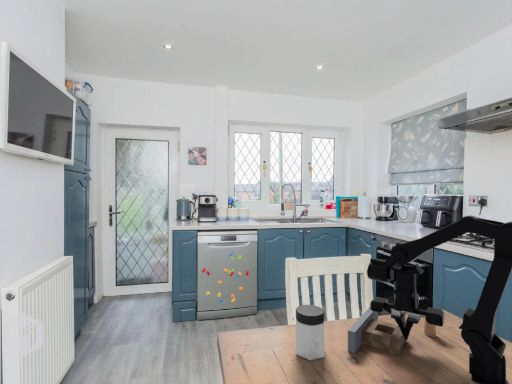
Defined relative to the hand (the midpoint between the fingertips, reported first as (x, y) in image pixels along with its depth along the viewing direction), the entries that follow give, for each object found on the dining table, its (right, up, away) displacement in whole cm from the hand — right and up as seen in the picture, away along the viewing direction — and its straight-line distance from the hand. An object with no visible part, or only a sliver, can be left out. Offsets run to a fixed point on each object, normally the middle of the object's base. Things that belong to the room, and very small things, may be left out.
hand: (406, 339), depth 82 cm
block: (-5, -3, +4) cm, 6 cm away
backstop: (-10, -3, +7) cm, 12 cm away
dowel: (+12, -3, +8) cm, 15 cm away
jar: (-29, -3, -2) cm, 29 cm away
